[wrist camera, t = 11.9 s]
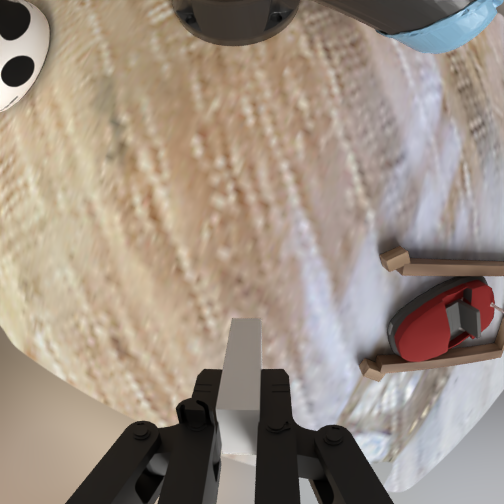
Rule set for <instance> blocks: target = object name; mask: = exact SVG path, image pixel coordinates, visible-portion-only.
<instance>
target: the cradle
mask: <svg viewBox="0 0 504 504" xmlns="http://www.w3.org/2000/svg"><path fill="white" fill-rule="evenodd" d="M379 256H380V259H381V263H382V266H383V267H384V268H385V269H387V270H388V271H389V272H391V271H393V270H397V271H398V272H399V273H400V274H401V275H402V276H504V261H480V260H451V259H422V258H409V254H408V251H406V250H405V249H403V248H402V247H401V246H399V247H397V248H394V249H392V250H390V251H388V252H385V253H383V254H381V255H379ZM503 351H504V316H503V319H502V322H501V325H500V328H499V331H498V334H497V337H496V340H495V343H491V344H485V345H478V346H471V347H463V348H455V349H448V351H447V352H446V353H444V354H441V355H439V356H437V357H434V358H431V359H428V360H424V361H421V362H410V361H407V360H405V359H403V358H402V357H400V356H399V355H397V354H390V355H377V358H376V362H373V361H371V360H368V359H366V358H364V360H363V361H362V363H361V364H360V365H359V368H360V370H361V372H362V374H363V376H364V377H367V378H370V379H372V380H375V381H378V382H379V381H380V380H381V379H382V378H383V376H384V375H385V373H394V372H405V371H415V370H424V369H432V368H440V367H447V366H454V365H461V364H467V363H473V362H479V361H484V360H490V359H495V358H500V357H501V356H502V353H503Z"/></svg>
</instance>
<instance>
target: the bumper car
mask: <svg viewBox="0 0 504 504" xmlns="http://www.w3.org/2000/svg"><path fill="white" fill-rule="evenodd" d="M494 308H495V309H497V310H499V311H501V312H503V313H504V310H503V309H501V308H499V307H497V306H496V305H495V301H494V295H493V291H492V288H491V287H489V286H488V284H487V282H486V280H485V278H484V277H483V276H457V277H455V278H453V279H450V280H448V281H446V282H444V283H441V284H439V285H437V286H435V287H434V288H432V289H430V290H429V291H427V292H425V293H424V294H422V295H420V296H418V297H417V298H416V299H414V300H413V301H411V302H410V303H409V304H407V305H406V306H405V307H403V308H402V309H401V310H399V312H398V313H397V314H396V315H395V317H394V318H393V319H392V320H391V321H390V324H389V328H388V339H389V343H390V346H391V348H392V350H393V352H394V353H396V354H397V355H399V356H400V357H402V358H403V359H405V360H407V361H410V362H421V361H424V360H428V359H431V358H434V357H437V356H439V355H441V354H444V353H446V352H447V351H448V349H450V348H452V347H454V346H456V345H458V344H460V343H461V342H462V341H464V340H465V339H466V338H468V337H469V336H470V337H471V338H472V339H474V338H475V337H476V338H479V337H480V336H481V332H482V331H483V330H484V329H486V328H487V327H488V326H489V324H490V323H491V321H492V319H493V317H494Z"/></svg>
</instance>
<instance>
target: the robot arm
mask: <svg viewBox="0 0 504 504" xmlns="http://www.w3.org/2000/svg"><path fill="white" fill-rule="evenodd" d="M312 1H314V2H317V3H319V4H322V5H324V6H327V7H329V8H331V9H334V10H336V11H338V12H341V13H343V14H345V15H347V16H349V17H352V18H354V19H356V20H358V21H360V22H362V23H364V24H366V25H368V26H370V27H372V28H374V29H375V30H376V32H378V33H379V34H381V35H383V36H385V37H389V38H394V39H396V40H397V41H399V42H401V43H403V44H405V45H407V46H409V47H411V48H412V49H414V50H416V51H419V52H422V53H434V54H439V53H444V52H448V51H451V50H454V49H456V48H458V47H460V46H462V45H464V44H465V43H467V42H468V41H470V40H471V39H473V38H474V37H476V36H477V35H478V34H479V33H480V32H481V31H483V30H484V29H485V28H486V27H487V26H488V24H489V23H490V22H491V21H492V20H493V18H494V17H495V15H496V14H497V10H496V7H497V6H499V5H501V4H502V3H503V0H312ZM299 3H300V0H172V5H173V8H174V11H175V13H176V15H177V17H178V18H179V20H180V22H181V23H182V25H183V26H184V27H185V28H186V29H187V30H188V31H189V32H190V33H192V34H193V35H194V36H196V37H198V38H200V39H202V40H204V41H207V42H209V43H213V44H217V45H223V46H244V45H250V44H255V43H258V42H261V41H264V40H267V39H269V38H271V37H273V36H275V35H276V34H278V33H279V32H281V31H282V30H283V29H284V28H286V27H287V26H288V25H289V23H290V22H291V21H292V20H293V18H294V16H295V15H296V13H297V10H298V7H299ZM176 412H177V416H178V420H179V424H176V425H174V426H170V427H164V428H157V427H156V425H155V424H153V423H151V422H148V421H137V422H135V423H132V424H131V425H129V426H128V427H127V428H126V429H125V431H124V432H123V433H122V434H121V436H120V437H119V438H118V439H117V441H116V442H115V443H114V444H113V446H112V447H111V448H110V449H109V450H108V452H107V453H106V454H105V455H104V457H103V458H102V459H101V460H100V462H99V463H98V464H97V465H96V466H95V468H94V469H93V470H92V472H91V473H90V474H89V475H88V476H87V478H86V479H85V480H84V481H83V482H82V484H81V485H80V486H79V487H78V489H77V490H76V491H75V492H74V493H73V495H72V496H71V497H70V498H69V500H68V501H67V502H66V503H65V504H154V503H155V501H156V500H157V498H158V497H159V500H158V504H216V502H217V494H218V487H219V479H220V471H221V459H220V455H221V449H222V454H243V455H257V457H256V482H255V483H256V484H255V504H300V490H299V477H301V478H306V479H309V482H310V484H311V487H312V489H313V491H314V494H315V496H316V498H317V501H318V503H319V504H394V503H393V501H392V500H391V498H390V497H389V495H388V493H387V492H386V490H385V488H384V487H383V485H382V484H381V482H380V481H379V479H378V477H377V475H376V474H375V472H374V470H373V469H372V467H371V466H370V464H369V462H368V461H367V459H366V457H365V456H364V454H363V452H362V451H361V449H360V448H359V446H358V444H357V443H356V441H355V439H354V438H353V436H352V434H351V433H350V432H349V431H348V430H347V429H346V428H344V427H342V426H339V425H327V426H324V427H322V428H320V429H319V430H318V431H314V430H309V429H305V428H303V427H301V426H299V425H298V424H297V423H295V421H294V419H293V416H292V406H291V395H290V384H289V376H288V374H287V373H286V372H285V370H284V369H262V319H261V318H232V322H231V327H230V332H229V338H228V343H227V349H226V354H225V360H224V365H223V370H220V369H204V370H203V371H202V372H201V373H200V374H199V375H198V376H197V380H196V383H195V387H194V392H193V394H192V398H189V399H186V400H183V401H182V402H180V403H179V404H178V406H177V407H176ZM159 495H160V496H159Z"/></svg>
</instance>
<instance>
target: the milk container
mask: <svg viewBox="0 0 504 504" xmlns="http://www.w3.org/2000/svg"><path fill="white" fill-rule="evenodd" d="M49 43H50V29H49V25H48V21H47V19H46V17H45V15H44V14H43V13H42V12H41V11H40V10H39V9H38V8H37V7H36V6H35V5H33V4H31V3H30V2H27V1H24V0H0V112H2V111H5V110H7V109H8V108H10V107H12V106H13V105H14V104H16V103H17V102H18V101H19V100H21V99H22V98H23V97H24V95H25V94H26V93H27V92H28V90H29V89H30V88H31V87H32V85H33V84H34V82H35V81H36V79H37V77H38V75H39V73H40V71H41V69H42V67H43V65H44V62H45V59H46V56H47V53H48V49H49Z"/></svg>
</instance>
